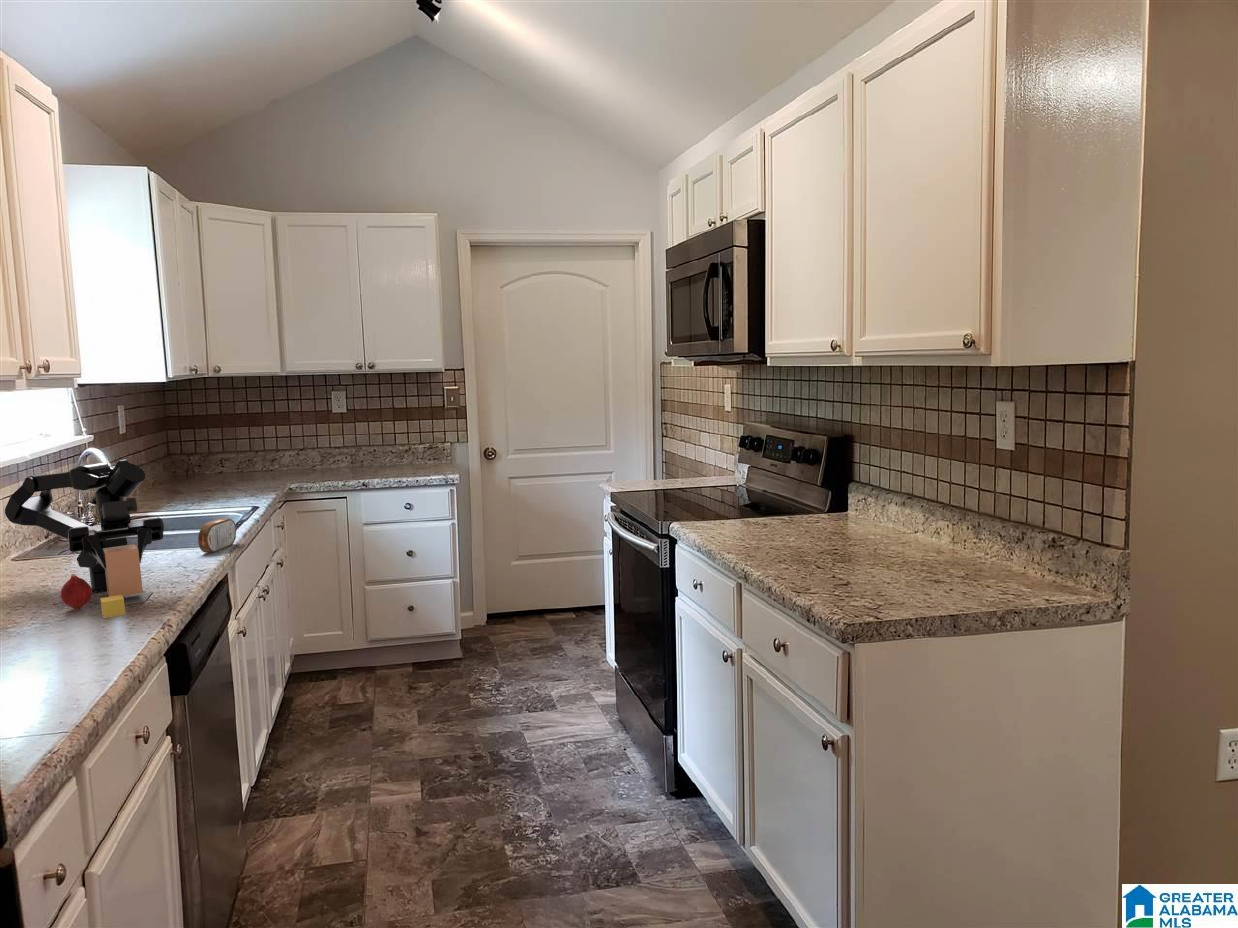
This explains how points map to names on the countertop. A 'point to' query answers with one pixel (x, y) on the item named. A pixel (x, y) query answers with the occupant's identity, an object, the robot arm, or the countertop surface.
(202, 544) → the tin
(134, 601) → the mat
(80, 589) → the onion
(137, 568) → the tan rectangular block
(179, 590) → the countertop surface
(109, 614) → the block
